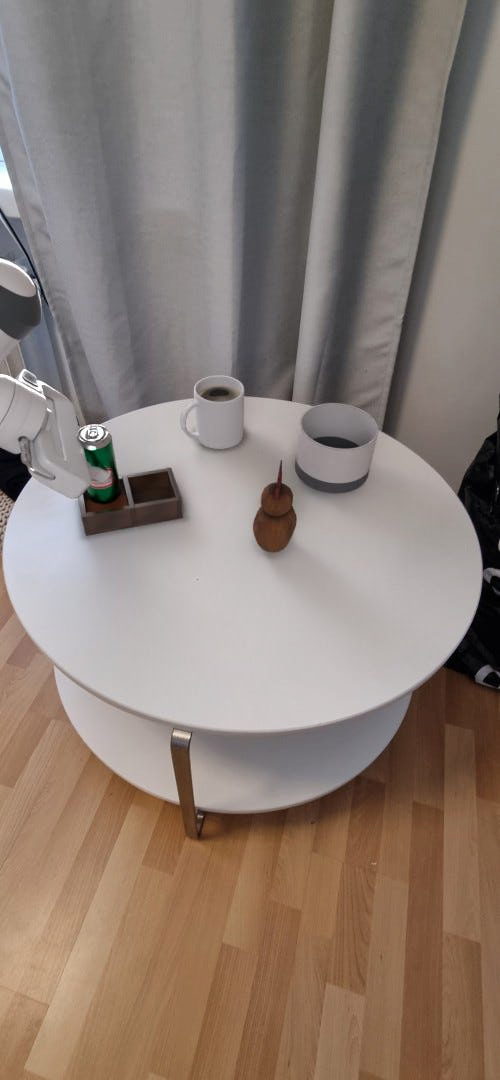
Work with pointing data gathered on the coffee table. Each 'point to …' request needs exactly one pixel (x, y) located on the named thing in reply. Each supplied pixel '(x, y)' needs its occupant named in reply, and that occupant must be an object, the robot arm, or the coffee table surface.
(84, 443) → the soda can
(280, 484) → the wooden figurine
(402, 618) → the coffee table surface
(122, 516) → the holder
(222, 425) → the mug
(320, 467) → the planter
